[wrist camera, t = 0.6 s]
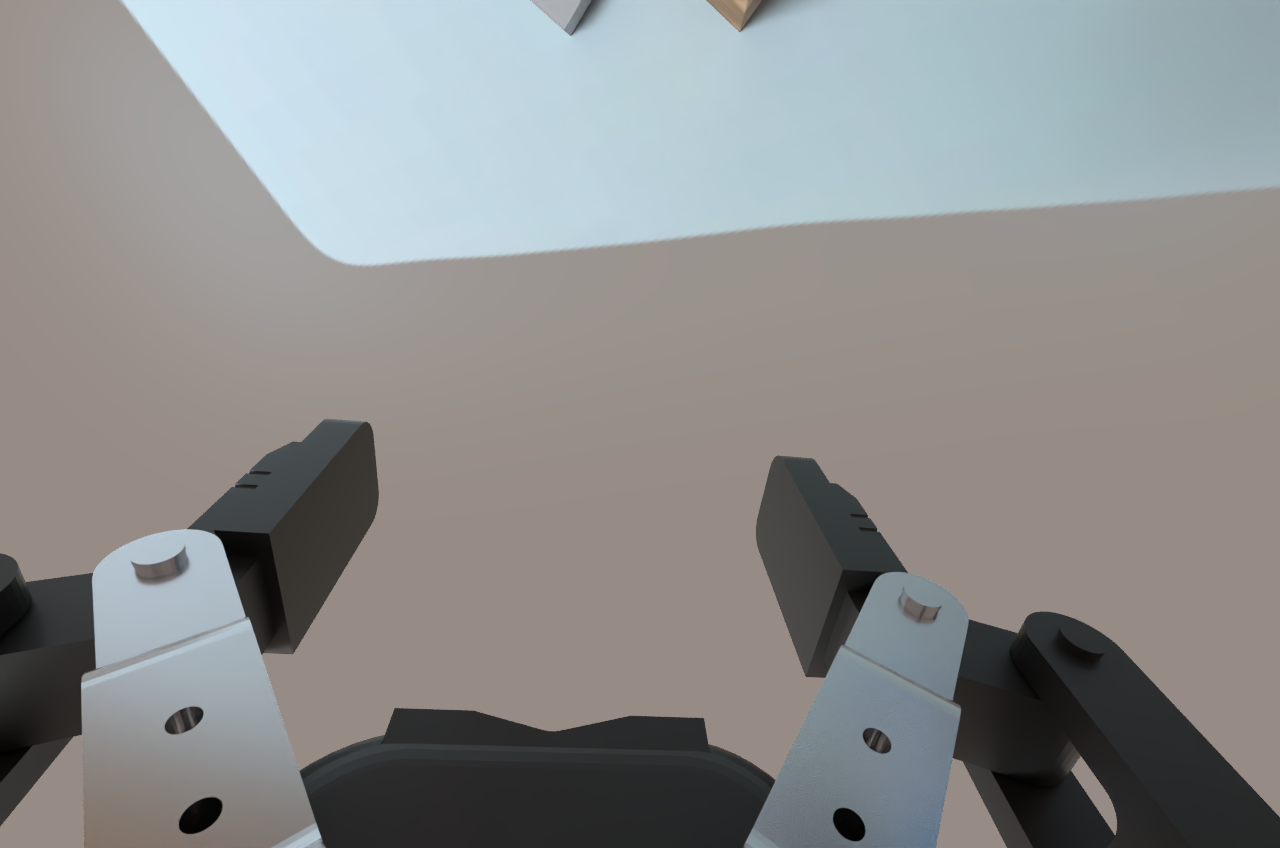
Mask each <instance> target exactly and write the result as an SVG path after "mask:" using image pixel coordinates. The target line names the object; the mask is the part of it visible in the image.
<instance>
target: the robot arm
mask: <svg viewBox="0 0 1280 848" xmlns="http://www.w3.org/2000/svg"><path fill="white" fill-rule="evenodd" d="M375 459H376V458H375V448H374V437H373V431H372V428H371V425H370V424H369V423H368V422H361V421H348V420H335V419H325V420H323V421H322V422H321V423H320V424H319V425H318V426H317V427H316V428H315V429H314V430H313V431H312V432H311V433H310V434H309V435H308V436H307V437H306V438H305V439H304V440H303V441H302V442H291V443H289V444H287V445H286V446H283V447H281V448H279V449H277V450H275V451H273V452H271V453H269V454H267V455H266V456H265V457H264V458H262V459H261V460H260V461H259V462H258V463H257V464H256V465H255V466H254V467H253V468H252V469H251V470H250V473H249V474H245V475H244V476H243V477H242V478H241V479H240V480H239V481H238V482H237V483H236V486H235V487H232V488H231V489H229V490H228V491H227V492H226V493H225V494H224V495H223V496H222V497H221V498H220V499H219V500H218V501H217V502H215V503H214V504H213V505H212V506H211V507H210V508H209V509H208V510H207V511H206V512H205V513H204V514H203V515H202V516H201V517H200V518H199V519H197V520H196V521H195V522H194V523H193V524H192V525H191V526H190V527H189V528H188V529H185V530H184V529H183V530H173V531H166V532H161V533H156V534H153V535H149V536H146V537H143V538H140V539H138V540H135V541H132V542H130V543H128V544H126V545H124V546H122V547H120V548H119V549H117V550H115V551H114V552H112V553H111V554H109V555H108V556H107V557H106V558H104V559H103V560H102V561H101V562H100V563H99V565H98V566H97V567H96V569H95V571H94V573H90V574H83V575H75V576H69V577H61V578H53V579H46V580H39V581H31V582H25V580H24V578H23V576H22V574H21V571H20V569H19V567H18V564H17V562H16V561H15V560H14V559H13V558H12V557H10V556H7V555H5V554H0V826H1V824H3V822H4V821H5V820H6V818H7V817H8V816H9V815H10V814H11V812H12V811H13V810H14V809H15V807H16V806H17V805H18V804H19V803H20V801H21V800H22V799H23V798H24V796H25V795H26V794H27V793H28V792H29V790H30V789H31V788H32V787H33V785H34V784H35V783H36V782H37V781H38V779H39V778H40V777H41V776H42V774H43V773H44V772H45V771H46V769H47V768H48V767H49V766H50V765H51V763H52V762H53V761H54V760H55V758H56V757H57V756H58V755H59V753H60V752H61V751H62V750H63V749H64V747H65V746H66V745H67V744H68V742H69V741H70V740H71V739H72V738H73V736H78V735H82V756H83V807H84V808H83V809H84V848H936V843H937V838H938V832H939V827H940V822H941V817H942V811H943V806H944V801H945V795H946V790H947V785H948V779H949V774H950V769H951V763H952V758H955V759H958V760H961V761H963V763H964V765H965V766H966V769H967V770H968V772H969V774H970V776H971V778H972V780H973V782H974V784H975V786H976V788H977V790H978V792H979V794H980V796H981V798H982V799H983V802H984V804H985V806H986V807H987V809H988V811H989V813H990V815H991V817H992V819H993V821H994V823H995V825H996V827H997V829H998V831H999V833H1000V835H1001V837H1002V838H1003V841H1004V842H1005V844H1006V846H1007V848H1280V817H1279V816H1278V815H1277V814H1276V813H1275V812H1274V811H1273V810H1272V809H1271V808H1270V806H1268V804H1267V803H1266V802H1265V801H1264V800H1263V799H1262V798H1261V797H1260V796H1259V795H1258V794H1257V793H1256V792H1255V791H1254V790H1253V788H1252V787H1251V786H1250V785H1249V784H1248V783H1247V782H1246V781H1245V780H1244V779H1243V778H1242V777H1241V776H1240V775H1239V774H1238V772H1237V771H1236V770H1235V769H1234V768H1233V767H1232V766H1231V765H1230V764H1229V763H1228V762H1227V761H1226V760H1225V759H1224V758H1223V757H1222V756H1221V754H1220V753H1219V752H1218V751H1217V750H1216V749H1215V748H1214V747H1213V746H1212V745H1211V744H1210V743H1209V742H1208V741H1207V739H1206V738H1205V737H1203V735H1202V734H1201V733H1200V732H1199V731H1198V730H1197V729H1196V728H1195V727H1194V726H1193V725H1192V724H1191V722H1189V720H1188V719H1187V718H1186V717H1185V716H1184V715H1183V714H1182V713H1181V712H1180V711H1179V710H1178V709H1177V708H1176V707H1175V705H1174V704H1173V703H1172V702H1171V701H1170V700H1169V699H1168V698H1167V697H1166V696H1165V695H1164V694H1163V693H1162V692H1161V691H1160V690H1159V689H1158V687H1157V686H1156V685H1155V684H1154V683H1153V682H1152V681H1151V680H1150V679H1149V678H1148V677H1147V676H1146V675H1145V674H1144V673H1143V671H1142V670H1141V669H1140V668H1139V667H1138V666H1137V665H1136V664H1135V663H1134V662H1133V661H1132V660H1131V659H1130V658H1129V657H1128V656H1127V655H1126V653H1124V651H1123V650H1122V649H1121V648H1120V647H1119V646H1118V645H1117V644H1115V643H1114V642H1113V641H1112V640H1110V639H1109V638H1108V637H1106V636H1105V635H1103V634H1102V633H1100V632H1099V631H1097V630H1096V629H1094V628H1092V627H1090V626H1089V625H1087V624H1085V623H1083V622H1081V621H1078V620H1076V619H1073V618H1071V617H1068V616H1065V615H1061V614H1058V613H1052V612H1035V613H1032V614H1030V615H1029V616H1027V618H1026V620H1025V621H1024V623H1023V625H1022V627H1021V629H1020V630H1019V632H1018V633H1015V632H1011V631H1008V630H1004V629H1001V628H997V627H994V626H990V625H986V624H983V623H979V622H976V621H973V620H969V619H968V615H967V612H966V610H965V608H964V607H963V606H962V604H961V603H960V602H959V601H958V600H957V599H956V598H955V597H954V596H953V595H952V594H951V593H950V592H948V591H947V590H946V589H944V588H943V587H941V586H939V585H938V584H936V583H934V582H932V581H930V580H928V579H926V578H923V577H921V576H917V575H913V574H910V573H908V572H907V571H906V570H905V568H904V566H903V565H902V564H901V562H900V561H899V559H898V558H897V556H896V555H895V553H894V552H893V551H892V549H891V548H890V546H889V545H888V544H887V542H886V540H885V539H884V538H883V536H882V535H881V533H880V532H877V528H876V526H875V525H874V523H873V522H872V520H871V519H870V518H868V515H867V513H866V512H865V510H864V509H863V507H862V506H861V504H860V503H859V502H858V500H857V499H856V498H855V497H854V496H852V495H851V494H850V493H848V492H847V491H846V490H844V489H843V488H842V487H841V486H839V485H838V484H833V483H829V481H828V480H827V478H826V476H825V475H824V473H823V472H822V470H821V469H820V467H819V466H818V464H817V463H816V461H815V460H814V459H812V458H801V457H788V456H776V457H775V458H774V460H773V461H772V464H771V467H770V470H769V474H768V478H767V482H766V486H765V490H764V494H763V498H762V502H761V506H760V510H759V514H758V518H757V526H756V539H757V546H758V549H759V552H760V555H761V557H762V560H763V563H764V565H765V568H766V571H767V573H768V576H769V579H770V581H771V584H772V587H773V590H774V592H775V595H776V598H777V601H778V603H779V606H780V609H781V611H782V614H783V617H784V619H785V622H786V625H787V627H788V630H789V633H790V636H791V638H792V641H793V644H794V646H795V649H796V652H797V654H798V657H799V660H800V663H801V665H802V668H803V670H804V673H805V676H806V677H822V678H825V680H824V681H823V684H822V686H821V688H820V690H819V692H818V694H817V696H816V698H815V700H814V702H813V705H812V706H811V709H810V710H809V713H808V715H807V717H806V719H805V721H804V723H803V725H802V727H801V729H800V732H799V733H798V736H797V737H796V740H795V742H794V744H793V746H792V748H791V750H790V752H789V754H788V756H787V758H786V760H785V762H784V764H783V766H782V768H781V771H780V773H779V775H778V777H777V779H776V780H775V779H773V778H772V777H771V776H770V775H769V774H767V773H766V772H764V771H763V770H761V769H760V768H758V767H757V766H756V765H754V764H753V763H751V762H749V761H747V760H745V759H743V758H742V757H740V756H738V755H736V754H734V753H732V752H729V751H726V750H724V749H721V748H719V747H716V746H713V745H709V744H708V741H707V734H706V728H705V722H704V718H680V717H650V716H628V717H623V718H618V719H614V720H609V721H605V722H600V723H595V724H590V725H585V726H581V727H576V728H571V729H567V730H562V731H556V732H554V731H553V732H552V731H544V730H541V729H537V728H533V727H530V726H526V725H523V724H519V723H515V722H512V721H508V720H505V719H501V718H498V717H494V716H490V715H487V714H483V713H480V712H476V711H463V710H434V709H403V708H401V709H400V708H395V709H394V712H393V714H392V717H391V720H390V723H389V725H388V728H387V731H386V734H385V735H383V736H378V737H374V738H371V739H368V740H364V741H361V742H358V743H355V744H352V745H349V746H347V747H345V748H342V749H340V750H337V751H335V752H332V753H331V754H328V755H327V756H325V757H323V758H321V759H319V760H317V761H315V762H313V763H311V764H310V765H308V766H306V767H305V768H303V769H302V770H300V771H299V769H298V766H297V763H296V760H295V757H294V754H293V751H292V747H291V744H290V741H289V738H288V735H287V732H286V729H285V726H284V723H283V720H282V717H281V714H280V710H279V707H278V704H277V701H276V698H275V695H274V692H273V689H272V686H271V683H270V680H269V677H268V674H267V671H266V668H265V664H264V662H263V658H262V654H263V653H279V654H293V653H294V652H295V650H296V648H297V647H298V645H299V643H300V642H301V640H302V639H303V637H304V635H305V634H306V632H307V630H308V629H309V627H310V625H311V624H312V622H313V620H314V619H315V617H316V615H317V614H318V612H319V610H320V609H321V607H322V605H323V604H324V602H325V600H326V599H327V597H328V595H329V594H330V592H331V591H332V589H333V587H334V586H335V584H336V582H337V580H338V579H339V577H340V576H341V574H342V572H343V571H344V569H345V567H346V566H347V564H348V562H349V561H350V559H351V557H352V556H353V554H354V552H355V551H356V549H357V547H358V546H359V544H360V543H361V541H362V539H363V538H364V535H365V534H366V532H367V531H368V529H369V528H370V526H371V524H372V522H373V520H374V518H375V515H376V511H377V506H378V498H379V497H378V496H379V491H378V479H377V469H376V460H375ZM1080 756H1081V757H1082V758H1083V759H1084V761H1085V762H1086V764H1087V765H1088V766H1089V768H1090V769H1091V771H1092V772H1093V773H1094V775H1095V776H1096V778H1097V779H1098V780H1099V782H1100V783H1101V785H1102V786H1103V787H1104V789H1105V790H1106V792H1107V793H1108V795H1109V797H1110V799H1111V801H1112V803H1113V806H1114V809H1115V812H1116V816H1117V832H1116V835H1114V833H1113V832H1112V831H1111V829H1110V827H1109V826H1108V824H1107V823H1106V822H1105V820H1104V819H1103V817H1102V816H1101V814H1100V813H1099V811H1098V810H1097V808H1096V807H1095V805H1094V804H1093V803H1092V801H1091V800H1090V798H1089V797H1088V795H1087V794H1086V792H1085V791H1084V789H1083V788H1082V786H1081V785H1080V783H1079V782H1078V780H1077V779H1076V778H1075V776H1074V774H1073V773H1072V772H1071V769H1072V768H1073V766H1074V765H1075V763H1076V762H1077V760H1078V759H1079V758H1080Z"/></svg>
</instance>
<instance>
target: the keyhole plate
mask: <svg viewBox="0 0 1280 848" xmlns="http://www.w3.org/2000/svg"><path fill="white" fill-rule="evenodd" d="M530 1H532V2H533V3H534V4H535V5H536V6H537V7H538V8H539V9H541V10H542V11H543V12H544V13H545V14H546V15H547V16H548V17H550V18H551V19H552V20H553V21H554V22H555V23H556V24H557V25H559V26H560V27H561V28H562V29H563V30H564V31H566V32H567V33H568V34H569V35H572V33H573V31H574V30H575V28H576V26H577V24H578V23H579V21H580V19H581V18H582V16H583V14H584V13H585V11H586V9H587V8H588V6H589V4H590V2H591V1H592V0H530Z"/></svg>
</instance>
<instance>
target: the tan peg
mask: <svg viewBox="0 0 1280 848" xmlns="http://www.w3.org/2000/svg"><path fill="white" fill-rule="evenodd" d="M707 1H708V2H709V3H710V4H711V5H712V6H713V7H714V8H715V9H716V10H717V11H718V12H719V13H720V14H721V15H722V16H723V17H724V18H725V19H727V20H728V21H729V22H730V23H731V24H732V25H733V26H734V27H735V28H736V29H737V30H738V31H739V32H740V31H741V29H742V28H743V27H744V25H745V24H746V22H747V21H748V19H749V18H750V17H751V15H752V14H753V12H754V11H755V10H756V8H757V7H758V5H759V4H760V3H761V1H762V0H707Z"/></svg>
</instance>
